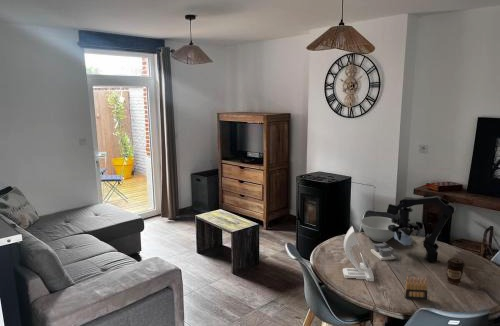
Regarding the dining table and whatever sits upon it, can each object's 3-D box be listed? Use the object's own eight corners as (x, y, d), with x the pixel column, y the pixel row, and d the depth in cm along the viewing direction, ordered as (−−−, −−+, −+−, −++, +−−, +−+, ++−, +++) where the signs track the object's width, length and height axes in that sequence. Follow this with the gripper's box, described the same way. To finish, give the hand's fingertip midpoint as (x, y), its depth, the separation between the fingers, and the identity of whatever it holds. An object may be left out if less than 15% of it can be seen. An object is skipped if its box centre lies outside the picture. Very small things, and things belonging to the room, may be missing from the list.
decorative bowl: (352, 234, 271) (353, 218, 268) (383, 229, 278) (384, 214, 276) (375, 248, 245) (376, 231, 243) (408, 243, 253) (409, 226, 251)
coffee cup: (462, 287, 196) (464, 265, 193) (444, 283, 200) (446, 261, 197) (462, 280, 203) (465, 258, 200) (446, 276, 207) (448, 255, 205)
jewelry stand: (373, 281, 204) (376, 239, 199) (345, 280, 205) (347, 239, 200) (363, 261, 228) (365, 223, 223) (338, 260, 229) (339, 223, 225)
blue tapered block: (411, 244, 231) (411, 237, 230) (404, 245, 230) (405, 238, 229) (400, 237, 243) (400, 230, 242) (394, 238, 242) (394, 231, 241)
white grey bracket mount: (394, 258, 230) (394, 249, 229) (380, 260, 229) (381, 250, 227) (383, 250, 243) (383, 241, 241) (370, 251, 241) (371, 242, 240)
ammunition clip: (405, 298, 187) (406, 276, 184) (404, 296, 189) (405, 275, 186) (427, 299, 185) (429, 278, 183) (426, 297, 187) (427, 276, 185)
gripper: (410, 211, 243) (408, 234, 246) (384, 213, 239) (382, 236, 243) (420, 217, 232) (418, 240, 235) (393, 219, 229) (391, 242, 232)
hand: (402, 239), depth 236 cm, fingers closed on blue tapered block, 4 cm apart
